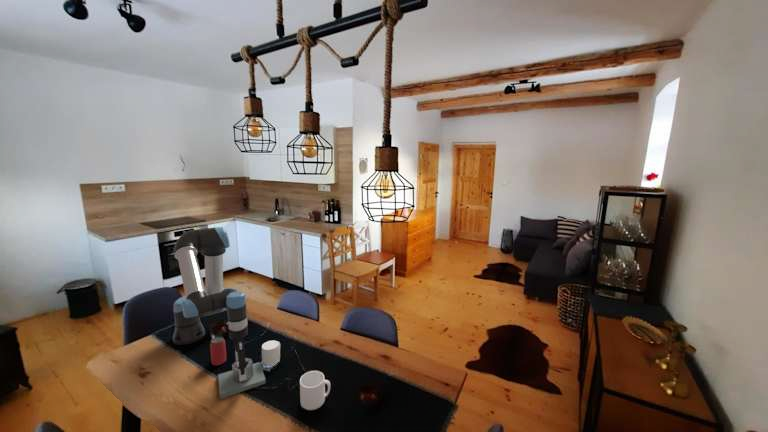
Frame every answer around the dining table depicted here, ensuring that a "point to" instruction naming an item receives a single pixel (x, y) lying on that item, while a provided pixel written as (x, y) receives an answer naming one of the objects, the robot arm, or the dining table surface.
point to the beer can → (218, 351)
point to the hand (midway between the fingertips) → (241, 370)
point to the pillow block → (231, 387)
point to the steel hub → (248, 370)
